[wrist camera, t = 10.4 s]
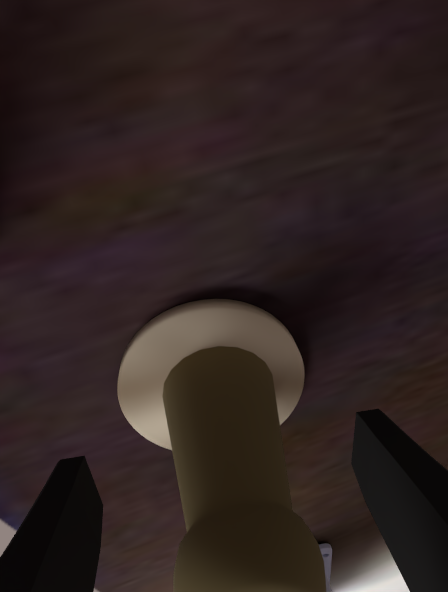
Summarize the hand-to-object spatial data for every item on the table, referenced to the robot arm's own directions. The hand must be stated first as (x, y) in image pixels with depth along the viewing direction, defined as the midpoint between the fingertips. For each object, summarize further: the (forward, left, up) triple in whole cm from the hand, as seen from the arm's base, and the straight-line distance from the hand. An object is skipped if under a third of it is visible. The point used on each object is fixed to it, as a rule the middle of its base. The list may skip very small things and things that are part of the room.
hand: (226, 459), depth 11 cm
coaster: (-6, 0, -10) cm, 12 cm away
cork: (-6, 0, -10) cm, 11 cm away
